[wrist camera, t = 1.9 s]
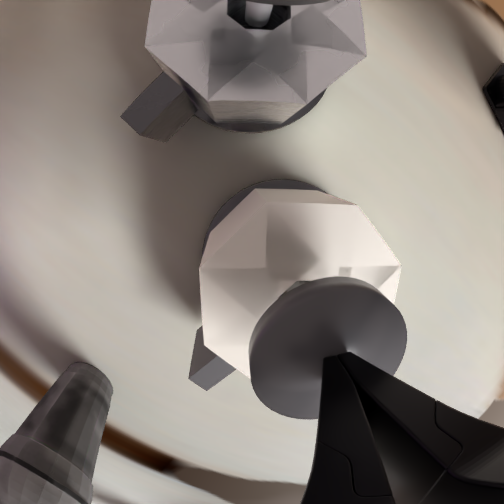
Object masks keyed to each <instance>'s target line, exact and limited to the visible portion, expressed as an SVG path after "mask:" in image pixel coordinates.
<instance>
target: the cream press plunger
mask: <svg viewBox="0 0 504 504" xmlns="http://www.w3.org/2000/svg"><path fill="white" fill-rule="evenodd" d="M286 292H287V293H285V294H284V295H282V296H281V297H280V298H279V299H277V300H276V301H275V302H274V303H273V304H272V305H271V306H270V307H269V308H268V309H267V310H266V311H265V312H264V314H263V315H262V316H261V317H260V319H259V321H258V322H257V324H256V325H255V328H254V330H253V332H252V335H251V338H250V342H249V350H248V354H249V366H250V377H251V383H252V386H253V389H254V391H255V393H256V395H257V397H258V398H259V399H260V401H261V402H262V403H263V404H264V405H266V406H267V407H268V408H270V409H271V410H273V411H275V412H277V413H279V414H281V415H284V416H287V417H291V418H296V419H318V418H319V407H320V395H321V382H322V366H323V358H325V357H328V356H333V355H336V356H337V355H338V354H341V353H345V352H352V353H354V354H355V355H357V356H359V357H361V358H362V359H364V360H366V361H368V362H369V363H371V364H373V365H375V366H376V367H378V368H380V369H382V370H383V371H385V372H387V373H389V374H390V375H392V376H393V375H394V374H395V372H396V371H397V369H398V367H399V365H400V363H401V361H402V359H403V356H404V353H405V349H406V343H407V330H406V324H405V321H404V319H403V316H402V315H401V313H400V311H399V310H398V309H397V308H396V307H395V305H394V304H393V303H392V302H391V301H390V300H388V299H387V298H386V297H385V296H384V295H383V294H382V293H381V292H380V291H379V290H378V289H377V288H375V287H374V286H373V285H371V284H369V283H367V282H365V281H362V280H359V279H356V278H351V277H340V276H335V277H325V278H321V279H316V280H313V281H310V282H307V283H306V282H305V281H296V282H295V283H294V284H293V285H292V286H290V287H289V288H288V289H287V290H286Z"/></svg>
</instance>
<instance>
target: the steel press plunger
mask: <svg viewBox="0 0 504 504" xmlns="http://www.w3.org/2000/svg"><path fill="white" fill-rule="evenodd" d="M244 1H246V9H245V21H246V22H247V23H248V24H249V25H250V26H253V27H262V26H264V25H266V24H267V23H268V21H269V18H270V15H271V11H272V8H273V5H286V6H290V5H310V4H317V3H323V2H327V1H330V0H244Z"/></svg>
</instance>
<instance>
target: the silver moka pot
mask: <svg viewBox="0 0 504 504" xmlns="http://www.w3.org/2000/svg"><path fill="white" fill-rule="evenodd" d="M245 9H246V1H244V0H152V1H151V6H150V12H149V18H148V25H147V32H146V39H145V48H146V49H147V51H148V52H149V53H150V54H151V56H152V57H153V58H154V59H155V61H156V62H157V63H158V64H159V66H160V67H161V68H162V70H163V71H164V72H163V73H162V74H161V75H160V76H159V77H158V78H156V79H155V80H154V81H153V82H152V83H151V84H150V85H149V86H148V87H147V88H146V89H145V90H144V91H143V92H142V94H141V95H140V96H139V97H138V98H137V99H136V100H135V101H134V102H133V103H132V104H131V105H130V106H129V107H128V109H127V110H126V111H125V112H124V113H123V114H122V115H121V116H120V117H121V118H122V119H124V120H125V121H126V122H127V123H128V124H129V125H130V126H131V127H132V128H133V129H134V130H135V131H136V132H137V133H138V134H139V135H141V136H145V137H148V138H152V139H155V140H159V141H162V142H167V141H168V140H169V139H170V138H171V137H172V136H173V135H174V134H175V133H176V132H177V131H178V130H179V129H180V128H181V127H182V126H183V125H184V124H185V123H186V122H187V121H188V120H189V119H190V118H191V117H192V116H193V115H195V116H196V117H198V118H199V119H201V120H203V121H204V122H206V123H208V124H210V125H212V126H214V127H217V128H220V129H223V130H226V131H232V132H237V133H262V132H268V131H272V130H276V129H280V128H282V127H284V126H287V125H289V124H291V123H293V122H295V121H296V120H298V119H300V118H301V117H303V116H304V115H305V114H307V113H308V112H309V111H310V110H311V109H312V108H313V107H314V106H315V105H316V104H317V103H318V102H319V100H320V99H321V98H322V96H323V94H324V92H325V91H326V89H327V87H328V86H329V85H331V84H332V83H333V82H334V81H336V80H337V79H338V78H339V77H341V76H342V75H343V74H344V73H346V72H347V71H348V70H350V69H351V68H352V67H353V66H355V65H356V64H357V63H359V62H360V61H361V60H362V59H364V58H365V57H366V56H367V55H366V44H365V34H364V25H363V17H362V10H361V3H360V0H330V1H327V2H323V3H317V4H310V5H290V6H286V5H273V8H272V11H271V15H270V18H269V21H268V23H267V24H266V25H264V26H262V27H253V26H250V25H249V24H248V23H247V22H246V21H245Z"/></svg>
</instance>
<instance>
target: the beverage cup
mask: <svg viewBox="0 0 504 504" xmlns="http://www.w3.org/2000/svg"><path fill="white" fill-rule="evenodd" d="M112 394H113V387H112V385H111V383H110V381H109V380H108V378H107V377H106V376H105V375H104V374H103V373H102V372H101V371H100V370H98V369H97V368H95V367H93V366H91V365H89V364H86V363H80V362H76V363H73V364H71V365H70V366H69V368H68V369H67V370H66V371H65V372H64V373H63V374H62V375H61V376H60V377H59V378H58V379H57V381H56V382H55V383H54V384H53V385H52V387H51V388H50V389H49V390H48V392H47V393H46V394H45V395H44V397H43V398H42V399H41V400H40V402H39V403H38V404H37V405H36V407H35V408H34V409H33V410H32V412H31V413H30V414H29V416H28V417H27V418H26V420H25V421H24V422H23V423H22V425H21V426H20V427H19V429H18V430H17V431H16V433H15V434H13V435H12V436H11V437H10V438H9V439H8V440H7V441H6V442H5V443H4V444H3V445H2V446H1V448H0V504H91V502H92V490H93V485H92V478H93V473H94V468H95V464H96V459H97V455H98V450H99V446H100V442H101V438H102V434H103V430H104V426H105V422H106V419H107V415H108V411H109V408H110V401H111V396H112Z"/></svg>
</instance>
